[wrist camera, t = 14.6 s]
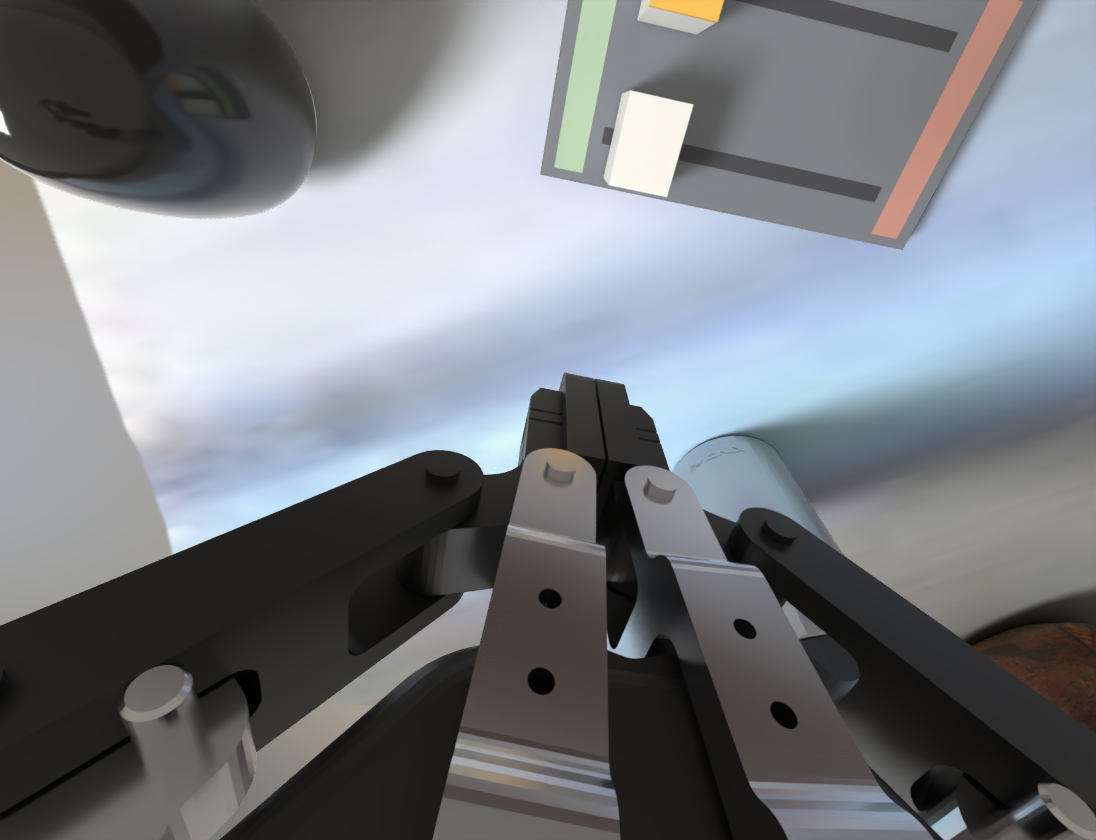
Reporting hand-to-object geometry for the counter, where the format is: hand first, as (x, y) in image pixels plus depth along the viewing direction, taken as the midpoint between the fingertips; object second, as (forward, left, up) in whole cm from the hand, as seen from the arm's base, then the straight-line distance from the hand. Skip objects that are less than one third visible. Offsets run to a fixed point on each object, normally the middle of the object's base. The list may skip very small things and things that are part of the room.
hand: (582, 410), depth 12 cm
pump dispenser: (+15, +12, -22) cm, 29 cm away
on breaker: (+3, -6, -20) cm, 21 cm away
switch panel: (+2, -13, -22) cm, 25 cm away
